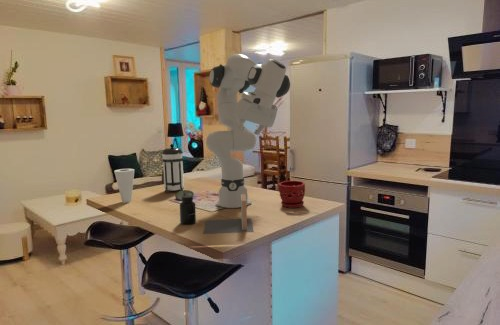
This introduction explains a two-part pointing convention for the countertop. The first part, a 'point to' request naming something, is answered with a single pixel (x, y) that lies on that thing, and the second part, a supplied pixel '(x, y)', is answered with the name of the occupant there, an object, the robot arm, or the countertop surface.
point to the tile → (243, 212)
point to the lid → (183, 194)
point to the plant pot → (292, 193)
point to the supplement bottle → (187, 210)
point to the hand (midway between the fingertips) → (248, 132)
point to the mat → (226, 226)
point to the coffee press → (173, 169)
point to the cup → (125, 183)
